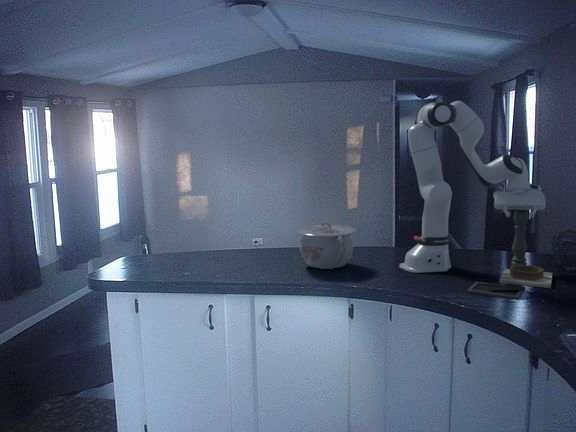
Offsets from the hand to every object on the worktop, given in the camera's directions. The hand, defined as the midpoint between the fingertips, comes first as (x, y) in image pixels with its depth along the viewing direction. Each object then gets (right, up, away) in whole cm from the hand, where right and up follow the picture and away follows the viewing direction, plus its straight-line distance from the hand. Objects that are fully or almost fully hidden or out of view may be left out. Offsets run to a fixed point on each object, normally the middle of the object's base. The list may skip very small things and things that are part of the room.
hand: (520, 216), depth 225 cm
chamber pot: (-80, -23, +19) cm, 86 cm away
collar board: (-3, -25, -12) cm, 28 cm away
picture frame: (-21, -29, -26) cm, 44 cm away
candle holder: (0, -23, +2) cm, 23 cm away
